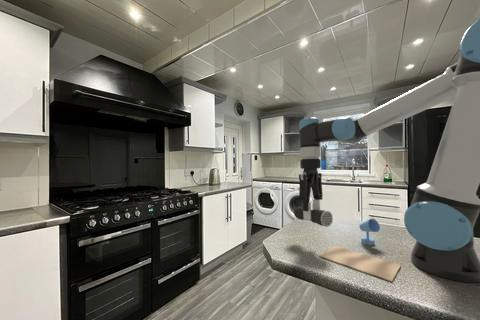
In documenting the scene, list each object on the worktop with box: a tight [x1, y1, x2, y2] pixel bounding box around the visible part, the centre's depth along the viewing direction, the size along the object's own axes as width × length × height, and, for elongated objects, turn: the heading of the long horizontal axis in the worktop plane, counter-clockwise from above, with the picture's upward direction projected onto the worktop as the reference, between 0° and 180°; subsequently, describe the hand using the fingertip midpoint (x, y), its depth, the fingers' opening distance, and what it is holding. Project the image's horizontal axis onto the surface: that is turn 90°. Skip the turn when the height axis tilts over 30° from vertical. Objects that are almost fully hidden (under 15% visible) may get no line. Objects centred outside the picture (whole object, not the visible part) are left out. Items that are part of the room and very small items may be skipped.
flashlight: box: [293, 205, 334, 228], centre depth 79 cm, size 15×5×5 cm, turn 26°
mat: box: [318, 245, 402, 283], centre depth 65 cm, size 20×12×1 cm, turn 42°
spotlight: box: [359, 218, 381, 246], centre depth 79 cm, size 5×10×7 cm
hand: (312, 217), depth 78 cm, fingers closed on flashlight, 6 cm apart
